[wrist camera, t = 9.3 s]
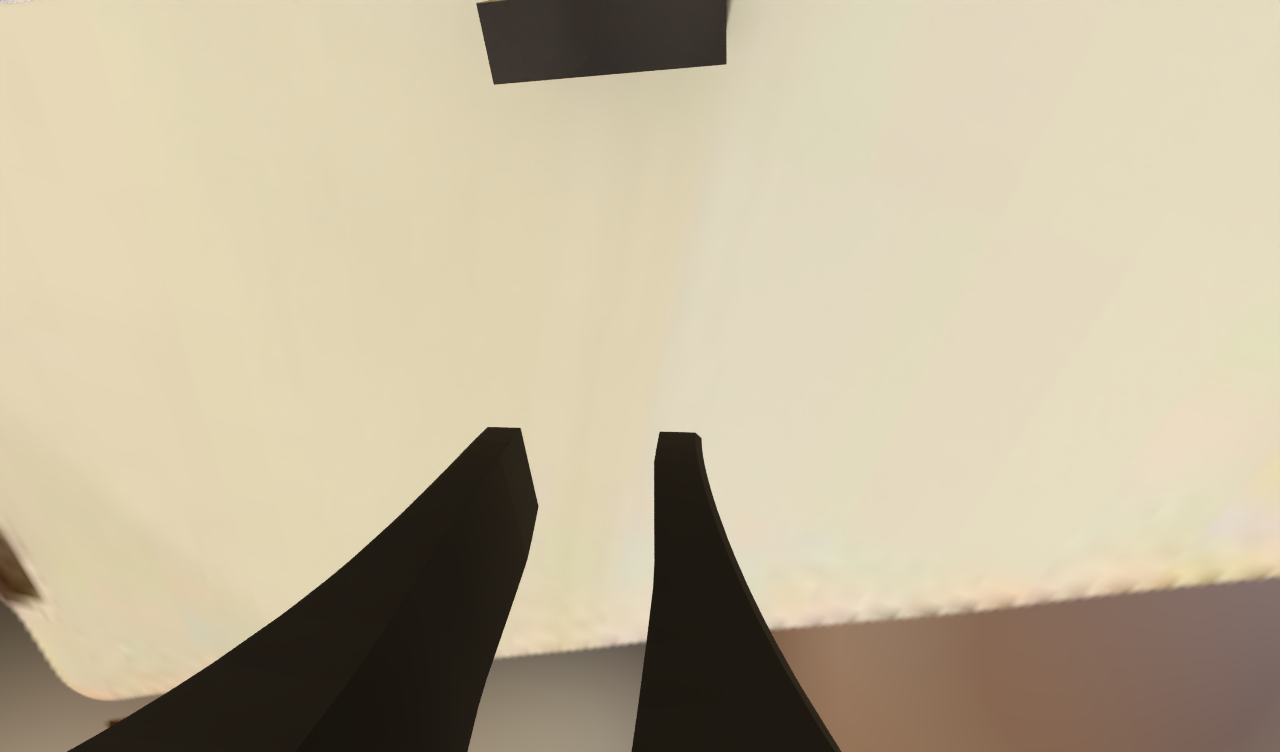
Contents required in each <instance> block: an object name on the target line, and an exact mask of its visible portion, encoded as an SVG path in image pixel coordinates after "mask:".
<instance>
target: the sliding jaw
mask: <svg viewBox="0 0 1280 752" xmlns="http://www.w3.org/2000/svg"><path fill="white" fill-rule="evenodd" d="M476 4H477V9H478V13H479V18H480V22H481V27H482V32H483V36H484V41H485V46H486V50H487V55H488V59H489V64H490V69H491V73H492V78H493V83H494V84H506V83H517V82H529V81H540V80H552V79H563V78H574V77H586V76H597V75H609V74H620V73H632V72H643V71H655V70H666V69H677V68H689V67H700V66H712V65H723V64H726V0H488V1H484V2H480V3H476Z"/></svg>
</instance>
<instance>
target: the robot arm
mask: <svg viewBox="0 0 1280 752" xmlns="http://www.w3.org/2000/svg"><path fill="white" fill-rule="evenodd" d="M24 1H32V0H0V4H8V3H16V2H24ZM537 511H538V503H537V498H536V494H535V490H534V485H533V481H532V476H531V472H530V468H529V463H528V459H527V454H526V450H525V446H524V441H523V437H522V432H521V428H503V427H487V428H486V429H485V430H484V431H483V432H482V433H481V434H480V435H479V436H478V437H477V438H476V439H475V440H474V441H473V442H472V443H471V444H470V445H469V446H468V447H467V448H466V449H465V450H464V451H463V452H462V453H461V454H460V455H459V456H458V458H457V459H456V460H455V461H454V462H453V463H452V464H451V465H450V466H449V467H448V468H447V469H446V470H445V471H444V472H443V473H442V474H441V475H440V476H439V477H438V478H437V479H436V480H435V481H434V482H433V483H432V484H431V485H430V486H429V487H428V488H427V489H426V490H425V491H424V492H423V493H422V494H421V495H420V496H419V497H418V498H417V499H416V500H415V501H414V502H413V503H412V504H411V505H410V506H409V507H408V508H407V509H406V510H405V511H404V512H403V513H402V514H401V515H400V516H398V517H397V518H396V519H395V520H394V521H393V522H392V523H391V524H390V525H389V526H388V527H387V528H386V529H384V530H383V531H382V532H381V533H380V534H379V535H378V536H377V537H376V538H375V539H373V540H372V541H371V542H370V543H369V544H368V545H367V546H366V547H365V548H363V549H362V550H361V551H360V552H359V553H358V554H357V555H356V556H355V557H353V558H352V559H351V560H350V561H349V562H348V563H346V564H345V565H344V566H343V567H342V568H341V569H339V570H338V571H337V572H336V573H335V574H333V575H332V576H331V577H330V578H328V579H327V580H326V581H325V582H324V583H322V584H321V585H320V586H318V587H317V588H316V589H315V590H313V591H312V592H311V593H309V594H308V595H307V596H306V597H304V598H303V599H302V600H300V601H299V602H298V603H297V604H295V605H294V606H293V607H291V608H290V609H289V610H287V611H286V612H285V613H283V614H282V615H281V616H279V617H278V618H277V619H275V620H274V621H272V622H271V623H269V624H268V625H267V626H265V627H264V628H262V629H261V630H259V631H258V632H257V633H255V634H254V635H252V636H251V637H249V638H248V639H247V640H245V641H244V642H242V643H241V644H239V645H238V646H237V647H235V648H234V649H232V650H231V651H229V652H228V653H227V654H225V655H224V656H222V657H221V658H219V659H218V660H217V661H215V662H214V663H212V664H211V665H209V666H208V667H206V668H205V669H203V670H202V671H200V672H198V673H197V674H195V675H194V676H192V677H191V678H189V679H188V680H186V681H184V682H183V683H181V684H180V685H178V686H177V687H175V688H174V689H172V690H170V691H169V692H167V693H166V694H164V695H162V696H161V697H159V698H158V699H156V700H154V701H153V702H151V703H149V704H148V705H146V706H144V707H143V708H141V709H140V710H138V711H136V712H135V713H133V714H131V715H130V716H128V717H126V718H125V719H123V720H121V721H120V722H118V723H116V724H115V725H113V726H111V727H110V728H108V729H106V730H105V731H103V732H101V733H99V734H98V735H96V736H94V737H92V738H91V739H89V740H87V741H85V742H84V743H82V744H80V745H78V746H76V747H75V748H73V749H71V750H69V751H68V752H467V751H468V747H469V743H470V739H471V735H472V731H473V726H474V722H475V718H476V714H477V710H478V706H479V703H480V699H481V696H482V693H483V689H484V686H485V682H486V679H487V676H488V673H489V670H490V668H491V665H492V662H493V659H494V656H495V653H496V650H497V647H498V644H499V641H500V638H501V636H502V633H503V630H504V627H505V624H506V621H507V618H508V615H509V612H510V609H511V606H512V604H513V601H514V598H515V595H516V592H517V589H518V586H519V583H520V580H521V577H522V574H523V571H524V568H525V565H526V562H527V559H528V554H529V550H530V545H531V541H532V536H533V531H534V526H535V521H536V516H537ZM654 558H655V562H654V582H653V594H652V602H651V610H650V618H649V626H648V635H647V643H646V651H645V658H644V666H643V674H642V681H641V689H640V697H639V704H638V711H637V719H636V725H635V732H634V739H633V746H632V752H841V751H840V749H839V747H838V746H837V744H836V742H835V741H834V739H833V737H832V736H831V734H830V733H829V731H828V730H827V728H826V726H825V725H824V723H823V721H822V720H821V718H820V717H819V715H818V713H817V712H816V710H815V709H814V707H813V705H812V704H811V702H810V700H809V699H808V697H807V695H806V694H805V692H804V691H803V689H802V687H801V686H800V684H799V682H798V681H797V679H796V677H795V676H794V674H793V672H792V670H791V668H790V667H789V665H788V663H787V661H786V659H785V658H784V656H783V654H782V652H781V650H780V649H779V647H778V645H777V643H776V641H775V640H774V637H773V636H772V634H771V632H770V630H769V628H768V626H767V624H766V622H765V620H764V618H763V616H762V614H761V612H760V610H759V608H758V606H757V604H756V602H755V600H754V598H753V596H752V594H751V592H750V589H749V587H748V585H747V583H746V581H745V578H744V576H743V574H742V572H741V569H740V567H739V565H738V563H737V560H736V558H735V556H734V553H733V551H732V548H731V546H730V543H729V541H728V538H727V535H726V533H725V530H724V527H723V524H722V522H721V519H720V516H719V513H718V511H717V508H716V505H715V502H714V499H713V495H712V492H711V488H710V485H709V481H708V477H707V473H706V469H705V465H704V459H703V453H702V442H701V437H700V436H698V435H697V434H696V433H689V432H660V433H659V438H658V443H657V449H656V455H655V461H654Z"/></svg>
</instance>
